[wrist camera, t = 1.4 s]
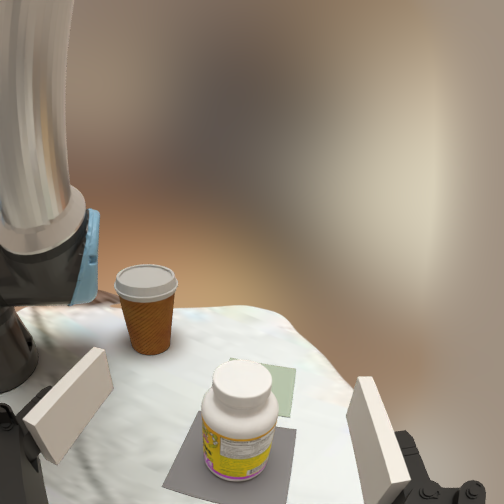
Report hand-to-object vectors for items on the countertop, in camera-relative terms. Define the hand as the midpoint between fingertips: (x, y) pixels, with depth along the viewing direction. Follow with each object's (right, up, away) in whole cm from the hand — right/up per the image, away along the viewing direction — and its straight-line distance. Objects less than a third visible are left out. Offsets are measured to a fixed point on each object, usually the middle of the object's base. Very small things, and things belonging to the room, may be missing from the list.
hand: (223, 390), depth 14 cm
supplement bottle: (0, -15, +12) cm, 20 cm away
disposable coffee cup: (-15, -8, +31) cm, 35 cm away
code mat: (0, -15, +12) cm, 20 cm away
